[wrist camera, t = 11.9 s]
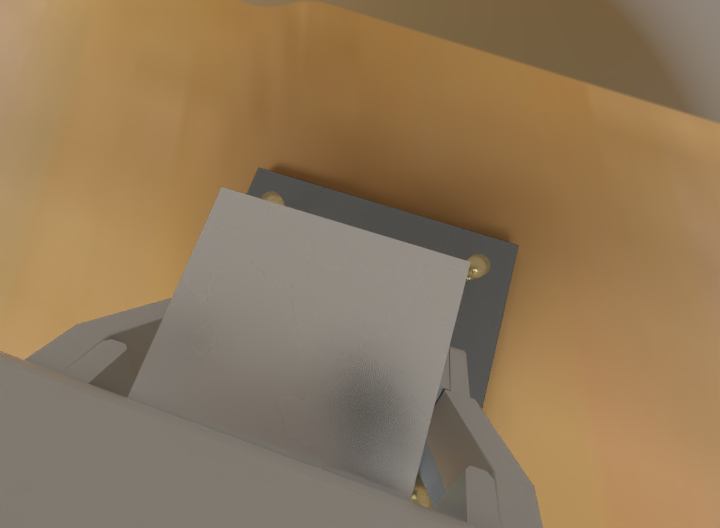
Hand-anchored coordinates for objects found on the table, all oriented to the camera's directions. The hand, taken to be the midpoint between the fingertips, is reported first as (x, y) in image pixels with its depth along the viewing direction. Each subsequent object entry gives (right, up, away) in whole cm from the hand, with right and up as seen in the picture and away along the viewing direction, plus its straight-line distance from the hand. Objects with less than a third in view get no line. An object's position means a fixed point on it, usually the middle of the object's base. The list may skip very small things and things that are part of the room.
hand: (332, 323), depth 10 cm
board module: (0, -2, +5) cm, 5 cm away
